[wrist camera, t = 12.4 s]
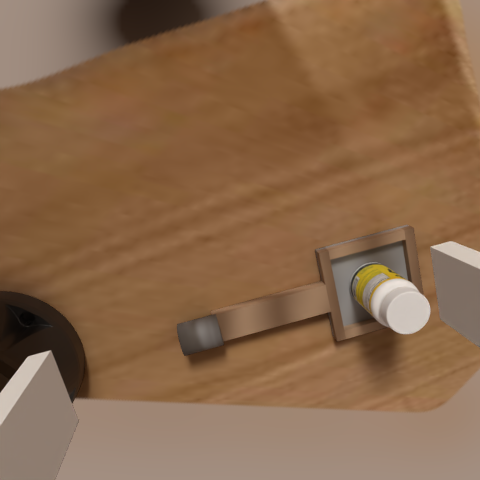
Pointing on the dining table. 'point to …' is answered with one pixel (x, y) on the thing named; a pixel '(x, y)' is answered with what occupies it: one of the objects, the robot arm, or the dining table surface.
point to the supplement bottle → (389, 298)
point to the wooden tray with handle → (313, 294)
